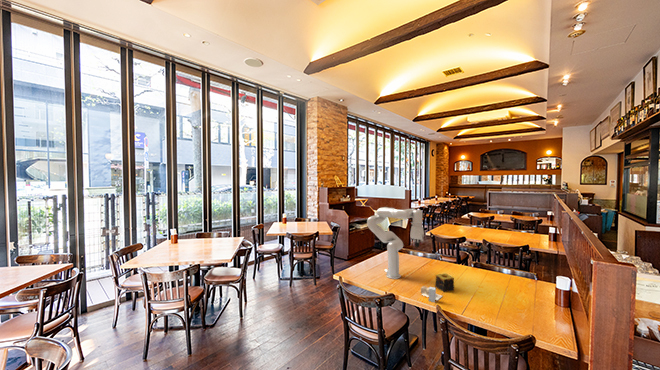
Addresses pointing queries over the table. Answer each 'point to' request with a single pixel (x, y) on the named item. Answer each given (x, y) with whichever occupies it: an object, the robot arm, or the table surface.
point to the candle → (444, 282)
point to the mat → (436, 296)
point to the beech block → (425, 290)
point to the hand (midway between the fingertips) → (417, 246)
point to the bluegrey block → (432, 294)
